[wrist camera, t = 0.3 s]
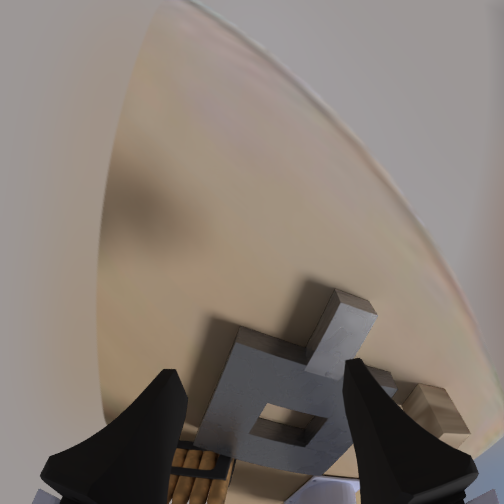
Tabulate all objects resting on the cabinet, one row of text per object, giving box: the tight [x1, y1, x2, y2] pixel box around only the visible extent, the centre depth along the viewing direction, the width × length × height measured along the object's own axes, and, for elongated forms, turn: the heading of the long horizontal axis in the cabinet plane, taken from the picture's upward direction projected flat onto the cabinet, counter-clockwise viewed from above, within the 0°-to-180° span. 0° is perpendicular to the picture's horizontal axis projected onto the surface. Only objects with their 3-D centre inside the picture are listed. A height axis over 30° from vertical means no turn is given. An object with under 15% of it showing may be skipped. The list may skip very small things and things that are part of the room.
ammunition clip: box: [167, 440, 236, 504], centre depth 22 cm, size 11×2×12 cm, turn 99°
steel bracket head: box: [193, 289, 398, 476], centre depth 23 cm, size 20×14×2 cm
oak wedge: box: [402, 383, 471, 449], centre depth 20 cm, size 3×4×7 cm
